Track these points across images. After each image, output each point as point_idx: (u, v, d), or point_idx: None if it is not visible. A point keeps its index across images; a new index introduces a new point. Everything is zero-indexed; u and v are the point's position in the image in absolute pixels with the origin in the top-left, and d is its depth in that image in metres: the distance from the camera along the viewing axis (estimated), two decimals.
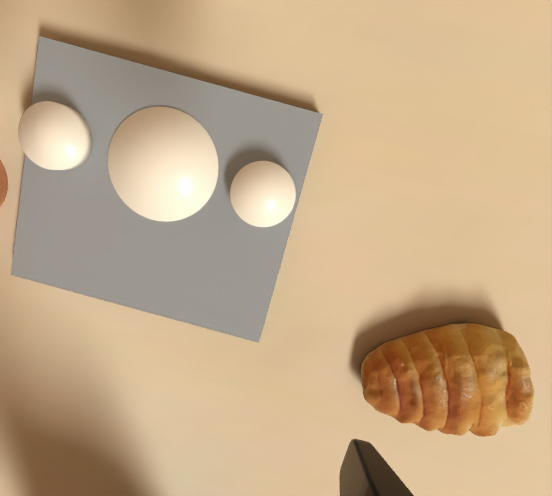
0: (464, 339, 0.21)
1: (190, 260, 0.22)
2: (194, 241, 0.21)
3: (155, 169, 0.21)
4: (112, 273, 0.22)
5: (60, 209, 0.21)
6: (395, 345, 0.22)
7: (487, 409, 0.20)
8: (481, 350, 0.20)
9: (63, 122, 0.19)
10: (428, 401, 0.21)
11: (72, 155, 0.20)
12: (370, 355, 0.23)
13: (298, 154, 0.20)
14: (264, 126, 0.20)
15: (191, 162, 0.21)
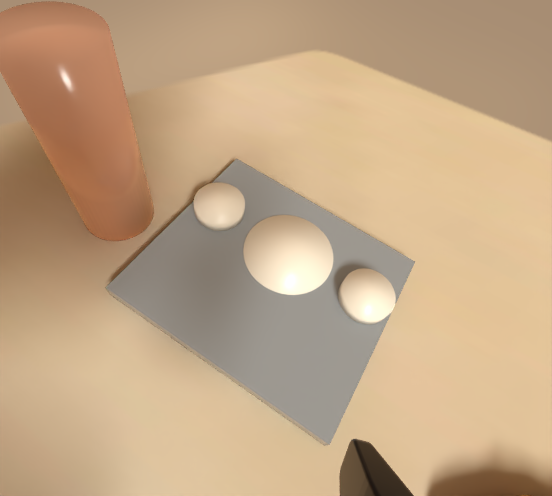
0: None
1: (284, 331, 0.22)
2: (294, 316, 0.23)
3: (282, 252, 0.25)
4: (206, 319, 0.22)
5: (189, 253, 0.24)
6: None
7: None
8: None
9: (233, 198, 0.26)
10: None
11: (229, 218, 0.25)
12: None
13: (394, 280, 0.26)
14: (372, 254, 0.26)
15: (311, 258, 0.25)
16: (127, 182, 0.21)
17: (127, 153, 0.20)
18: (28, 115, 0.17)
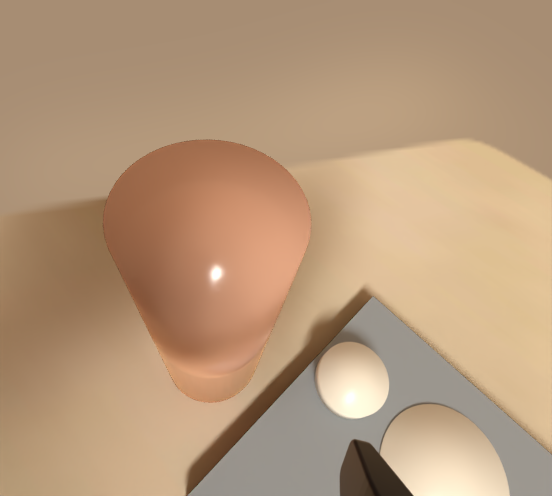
0: None
1: None
2: None
3: (435, 475, 0.17)
4: None
5: (303, 453, 0.17)
6: None
7: None
8: None
9: (374, 373, 0.18)
10: None
11: (367, 409, 0.17)
12: None
13: None
14: None
15: (476, 493, 0.17)
16: (248, 367, 0.14)
17: (264, 343, 0.13)
18: (142, 316, 0.10)
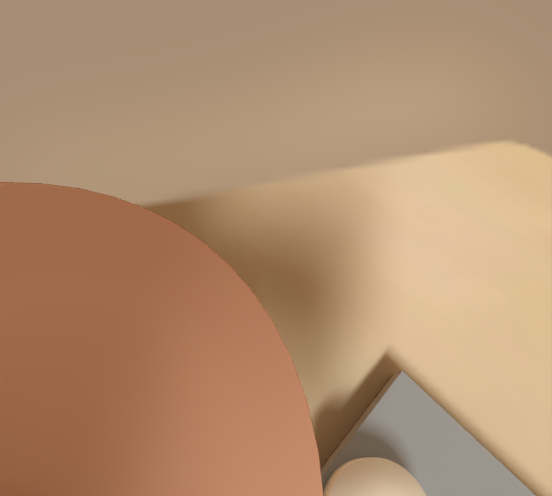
0: None
1: None
2: None
3: None
4: None
5: None
6: None
7: None
8: None
9: None
10: None
11: None
12: None
13: None
14: None
15: None
16: None
17: None
18: None
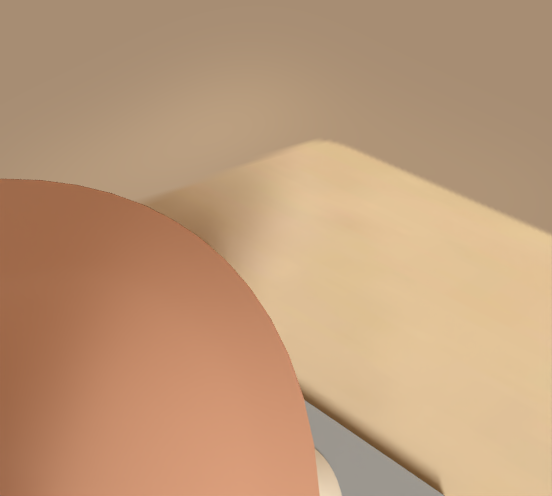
0: None
1: None
2: None
3: None
4: None
5: None
6: None
7: None
8: None
9: None
10: None
11: None
12: None
13: None
14: None
15: None
16: None
17: None
18: None
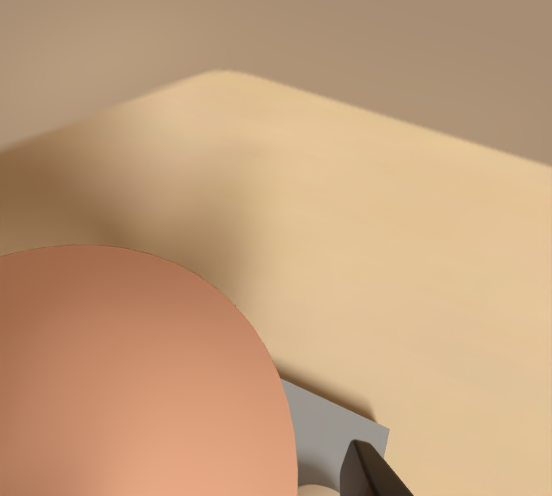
0: None
1: None
2: None
3: None
4: None
5: None
6: None
7: None
8: None
9: None
10: None
11: None
12: None
13: None
14: (319, 432, 0.16)
15: None
16: None
17: None
18: None
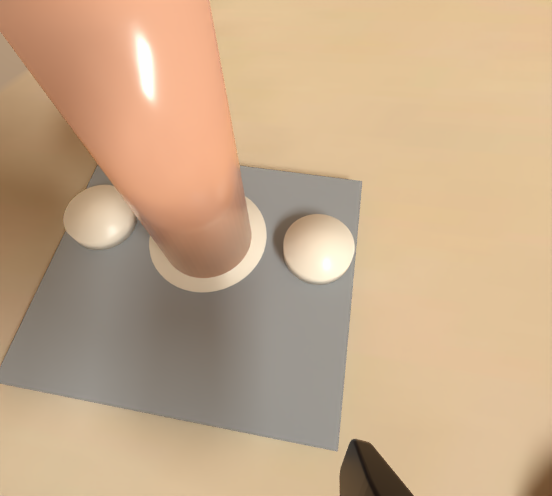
0: None
1: (236, 336, 0.17)
2: (241, 312, 0.18)
3: None
4: (133, 364, 0.17)
5: (85, 290, 0.19)
6: None
7: None
8: None
9: (113, 199, 0.20)
10: None
11: (115, 226, 0.19)
12: None
13: (346, 214, 0.20)
14: (309, 194, 0.21)
15: None
16: (226, 206, 0.14)
17: (228, 165, 0.13)
18: (77, 129, 0.10)
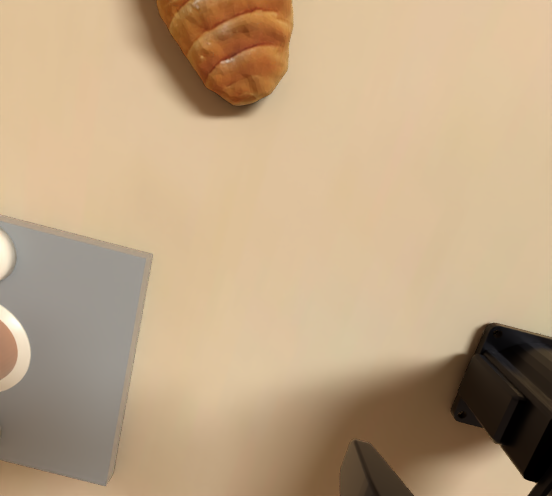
0: None
1: (65, 325, 0.21)
2: (45, 320, 0.21)
3: None
4: (90, 398, 0.22)
5: (36, 436, 0.23)
6: (195, 69, 0.18)
7: None
8: None
9: None
10: (232, 9, 0.15)
11: None
12: None
13: None
14: None
15: None
16: None
17: None
18: None
